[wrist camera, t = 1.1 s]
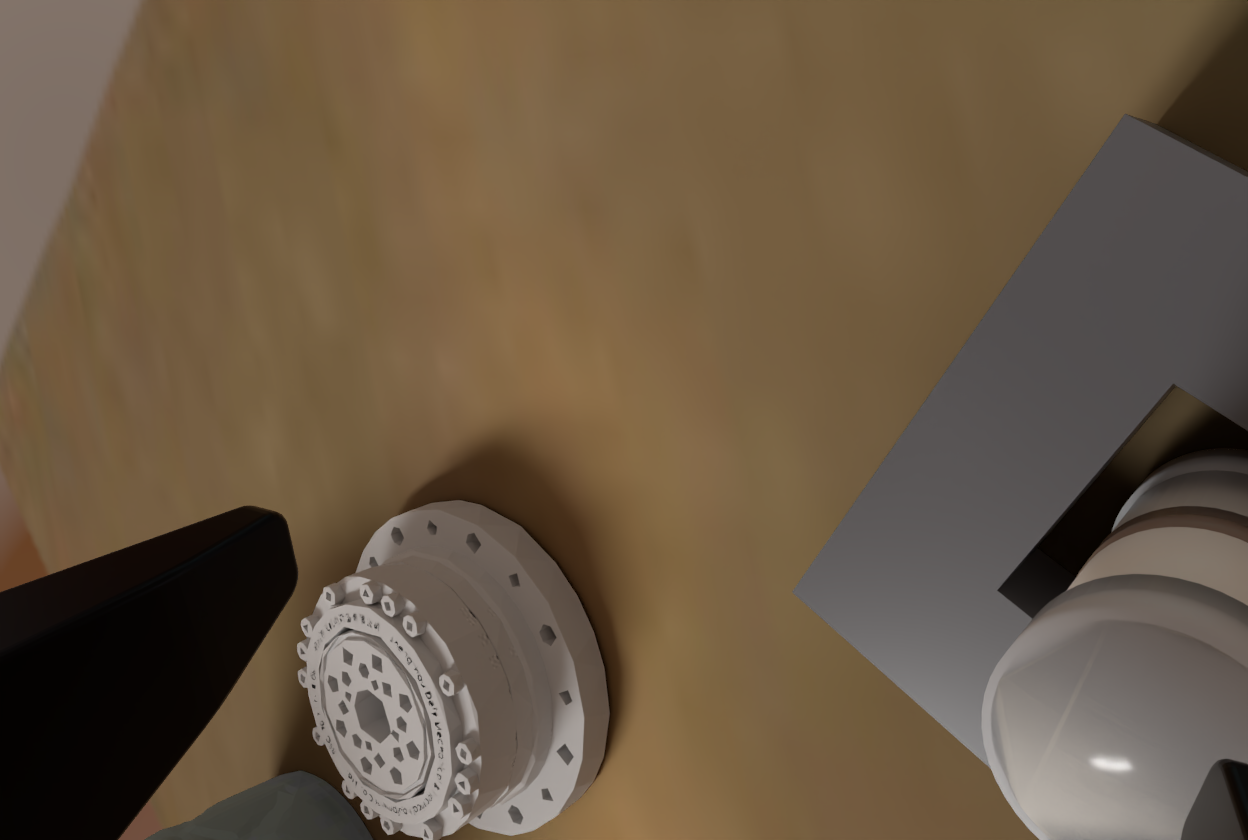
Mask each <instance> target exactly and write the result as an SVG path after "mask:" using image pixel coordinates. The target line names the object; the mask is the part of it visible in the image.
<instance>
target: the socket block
mask: <svg viewBox="0 0 1248 840" xmlns="http://www.w3.org/2000/svg"><path fill="white" fill-rule="evenodd" d="M1175 386H1178V387H1179V388H1181V389H1183V390H1184V391H1186V392H1187V393H1189V394H1190V395H1192V396H1194V397H1195V398H1197V399H1198V400H1200V401H1202V402H1203V403H1205V404H1206V405H1208V406H1209V407H1211V408H1213V409H1214V410H1216V411H1217V412H1219V413H1220V414H1222V415H1224V416H1225V417H1227V418H1228V419H1230V420H1231V421H1233V422H1235V423H1236V424H1238V425H1239V426H1241V427H1243V428H1244V429H1246V430H1247V431H1248V172H1247V171H1246V170H1244V169H1242V168H1240V167H1238V166H1236V165H1234V164H1232V163H1230V162H1228V161H1226V160H1224V159H1222V158H1220V157H1218V156H1217V155H1215V154H1213V153H1211V152H1209V151H1207V150H1205V149H1203V148H1201V147H1199V146H1197V145H1195V144H1193V143H1191V142H1189V141H1188V140H1186V139H1184V138H1182V137H1180V136H1178V135H1176V134H1174V133H1172V132H1170V131H1168V130H1166V129H1164V128H1162V127H1160V126H1159V125H1157V124H1154V123H1151V122H1148V121H1145V120H1142V119H1139V118H1136V117H1133V116H1130V115H1127V114H1125V115H1124V116H1123V118H1122V119H1121V120H1120V122H1119V123H1118V125H1117V126H1116V128H1115V129H1114V130H1113V132H1112V133H1111V135H1110V136H1109V138H1108V139H1107V141H1106V142H1105V143H1104V145H1103V146H1102V148H1101V149H1100V151H1099V152H1098V153H1097V155H1096V156H1095V158H1094V159H1093V161H1092V162H1091V164H1090V165H1089V166H1088V168H1087V169H1086V171H1085V172H1084V174H1083V175H1082V176H1081V178H1080V179H1079V181H1078V182H1077V184H1076V185H1075V187H1074V188H1073V189H1072V191H1071V192H1070V194H1069V195H1068V197H1067V198H1066V199H1065V201H1064V202H1063V204H1062V205H1061V207H1060V208H1059V209H1058V211H1057V212H1056V214H1055V215H1054V217H1053V218H1052V220H1051V221H1050V222H1049V224H1048V225H1047V227H1046V228H1045V230H1044V231H1043V232H1042V234H1041V235H1040V237H1039V238H1038V240H1037V241H1036V243H1035V244H1034V245H1033V247H1032V248H1031V250H1030V251H1029V253H1028V254H1027V255H1026V257H1025V258H1024V260H1023V261H1022V263H1021V264H1020V266H1019V267H1018V268H1017V270H1016V271H1015V273H1014V274H1013V276H1012V277H1011V278H1010V280H1009V281H1008V283H1007V284H1006V286H1005V287H1004V288H1003V290H1002V291H1001V293H1000V294H999V296H998V297H997V299H996V300H995V301H994V303H993V304H992V306H991V307H990V309H989V310H988V311H987V313H986V314H985V316H984V317H983V319H982V320H981V322H980V323H979V324H978V326H977V327H976V329H975V330H974V332H973V333H972V334H971V336H970V337H969V339H968V340H967V342H966V343H965V345H964V346H963V347H962V349H961V350H960V352H959V353H958V355H957V356H956V357H955V359H954V360H953V362H952V363H951V365H950V366H949V367H948V369H947V370H946V372H945V373H944V375H943V376H942V378H941V379H940V380H939V382H938V383H937V385H936V386H935V388H934V389H933V390H932V392H931V393H930V395H929V396H928V398H927V399H926V401H925V402H924V403H923V405H922V406H921V408H920V409H919V411H918V412H917V413H916V415H915V416H914V418H913V419H912V421H911V422H910V423H909V425H908V426H907V428H906V429H905V431H904V432H903V434H902V435H901V436H900V438H899V439H898V441H897V442H896V444H895V445H894V446H893V448H892V449H891V451H890V452H889V454H888V455H887V457H886V458H885V459H884V461H883V462H882V464H881V465H880V467H879V468H878V469H877V471H876V472H875V474H874V475H873V477H872V478H871V480H870V481H869V482H868V484H867V485H866V487H865V488H864V490H863V491H862V492H861V494H860V495H859V497H858V498H857V500H856V501H855V502H854V504H853V505H852V507H851V508H850V510H849V511H848V513H847V514H846V515H845V517H844V518H843V520H842V521H841V523H840V524H839V525H838V527H837V528H836V530H835V531H834V533H833V534H832V536H831V537H830V538H829V540H828V541H827V543H826V544H825V546H824V547H823V548H822V550H821V551H820V553H819V554H818V556H817V557H816V559H815V560H814V561H813V563H812V564H811V566H810V567H809V569H808V570H807V571H806V573H805V574H804V576H803V577H802V579H801V580H800V581H799V583H798V584H797V586H796V587H795V589H794V590H793V593H794V594H795V595H796V596H797V597H798V598H799V599H800V600H802V601H803V602H804V603H805V604H806V605H807V606H808V607H809V608H811V609H812V610H813V611H814V612H815V613H816V614H817V615H818V616H820V617H821V618H822V619H823V620H824V621H825V622H826V623H827V624H829V625H830V626H831V627H832V628H833V629H834V630H835V631H836V632H838V633H839V634H840V635H841V636H842V637H843V638H844V639H845V640H847V641H848V642H849V643H850V644H851V645H852V646H853V647H854V648H856V649H857V650H858V651H859V652H860V653H861V654H862V655H863V656H865V657H866V658H867V659H868V660H869V661H870V662H871V663H872V664H874V665H875V666H876V667H877V668H878V669H879V670H880V671H881V672H883V673H884V674H885V675H886V676H887V677H888V678H889V679H890V680H892V681H893V682H894V683H895V684H896V685H897V686H898V687H899V688H901V689H902V690H903V691H904V692H905V693H906V694H907V695H908V696H910V697H911V698H912V699H913V700H914V701H915V702H916V703H917V704H919V705H920V706H921V707H922V708H923V709H924V710H925V711H926V712H928V713H929V714H930V715H931V716H932V717H933V718H934V719H935V720H937V721H938V722H939V723H940V724H941V725H942V726H943V727H944V728H946V729H947V730H948V731H949V732H950V733H951V734H952V735H953V736H955V737H956V738H957V739H958V740H959V741H960V742H961V743H962V744H964V745H965V746H966V747H967V748H968V749H969V750H970V751H971V752H973V753H974V754H975V755H976V756H977V757H978V758H979V759H980V760H982V761H983V762H984V763H985V764H986V765H987V766H988V767H989V768H991V767H990V765H989V762H988V758H987V755H986V751H985V747H984V742H983V734H982V706H983V700H984V694H985V691H986V688H987V685H988V682H989V679H990V677H991V675H992V673H993V671H994V669H995V667H996V665H997V663H998V662H999V661H1000V659H1001V658H1002V657H1003V656H1004V654H1005V653H1006V652H1007V650H1008V649H1009V648H1010V647H1011V645H1012V644H1013V643H1014V642H1015V640H1016V639H1017V638H1018V637H1019V635H1020V634H1021V633H1022V632H1023V630H1024V629H1025V628H1026V627H1027V625H1028V624H1029V623H1030V622H1031V620H1032V619H1033V618H1034V617H1035V615H1036V614H1037V613H1038V612H1039V611H1040V610H1041V609H1042V608H1043V607H1044V606H1045V605H1046V604H1048V603H1049V602H1050V601H1051V600H1053V599H1054V598H1056V597H1057V596H1059V595H1060V594H1061V593H1063V592H1065V591H1066V590H1067V589H1068V588H1069V587H1070V585H1071V584H1072V583H1073V581H1074V580H1075V578H1076V577H1075V576H1074V575H1072V574H1071V573H1070V572H1068V571H1067V570H1066V569H1064V568H1063V567H1062V566H1060V565H1059V564H1058V563H1056V562H1055V561H1054V560H1052V559H1051V558H1050V557H1049V556H1047V555H1046V554H1045V553H1043V552H1042V551H1041V550H1039V549H1038V546H1039V545H1040V544H1041V543H1042V542H1043V541H1044V539H1045V538H1046V537H1047V536H1048V535H1049V534H1050V532H1051V531H1052V530H1053V529H1054V528H1055V527H1056V525H1057V524H1058V523H1059V522H1060V521H1061V520H1062V518H1063V517H1064V516H1065V515H1066V514H1067V513H1068V511H1069V510H1070V509H1071V508H1072V507H1073V506H1074V504H1075V503H1076V502H1077V501H1078V500H1079V499H1080V497H1081V496H1082V495H1083V494H1084V493H1085V491H1086V490H1087V489H1088V488H1089V487H1090V486H1091V484H1092V483H1093V482H1094V481H1095V480H1096V479H1097V477H1098V476H1099V475H1100V474H1101V473H1102V472H1103V470H1104V469H1105V468H1106V467H1107V466H1108V465H1109V463H1110V462H1111V461H1112V460H1113V459H1114V458H1115V456H1116V455H1117V454H1118V453H1119V452H1120V451H1121V449H1122V448H1123V447H1124V446H1125V445H1126V444H1127V442H1128V441H1129V440H1130V439H1131V438H1132V437H1133V435H1134V434H1135V433H1136V432H1137V431H1138V430H1139V428H1140V427H1141V426H1142V425H1143V424H1144V423H1145V421H1146V420H1147V419H1148V418H1149V417H1150V416H1151V414H1152V413H1153V412H1154V411H1155V410H1156V408H1157V407H1158V406H1159V405H1160V404H1161V403H1162V401H1163V400H1164V399H1165V398H1166V397H1167V396H1168V394H1169V393H1170V392H1171V391H1172V390H1173V389H1174V387H1175Z"/></svg>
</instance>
